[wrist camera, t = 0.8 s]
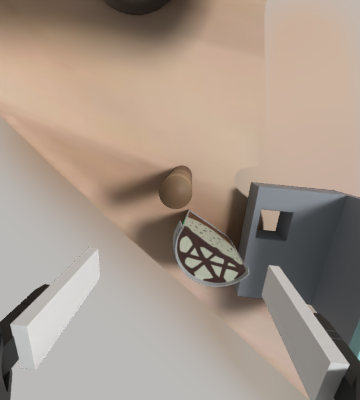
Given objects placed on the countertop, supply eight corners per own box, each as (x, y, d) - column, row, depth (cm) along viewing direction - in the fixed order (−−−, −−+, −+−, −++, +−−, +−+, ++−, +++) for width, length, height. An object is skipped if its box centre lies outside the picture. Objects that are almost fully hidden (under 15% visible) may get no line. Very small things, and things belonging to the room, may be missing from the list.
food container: (163, 229, 36) (153, 259, 26) (182, 204, 34) (179, 226, 25) (215, 264, 37) (224, 305, 27) (235, 241, 36) (252, 275, 26)
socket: (251, 182, 32) (306, 211, 17) (334, 190, 32) (470, 228, 16) (232, 281, 38) (261, 374, 22) (303, 289, 37) (385, 390, 22)
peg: (172, 164, 33) (160, 175, 19) (192, 166, 32) (193, 178, 19) (171, 184, 33) (158, 207, 20) (190, 186, 33) (190, 210, 20)
